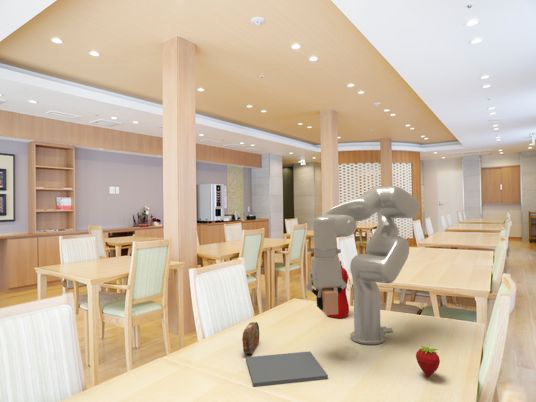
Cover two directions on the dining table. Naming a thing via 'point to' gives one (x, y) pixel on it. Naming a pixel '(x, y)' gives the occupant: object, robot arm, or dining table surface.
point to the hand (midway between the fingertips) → (327, 307)
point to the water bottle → (342, 298)
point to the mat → (284, 368)
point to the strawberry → (428, 360)
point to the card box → (329, 301)
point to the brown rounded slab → (250, 338)
